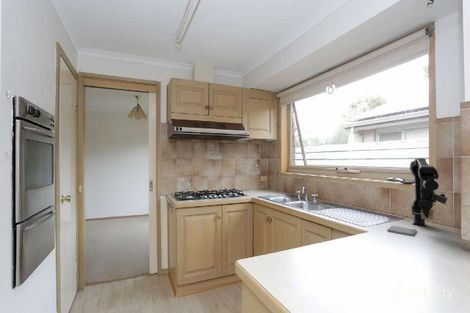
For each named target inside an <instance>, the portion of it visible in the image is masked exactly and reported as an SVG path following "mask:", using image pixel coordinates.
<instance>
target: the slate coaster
mask: <svg viewBox="0 0 470 313" xmlns="http://www.w3.org/2000/svg"><path fill="white" fill-rule="evenodd" d="M417 231H418V229H416V228H409V227H404V226H397V225H391V226H390V227H388V229H387V232H389V233H395V234H400V235H406V236H412V237H414V236H415V235H416V233H417Z"/></svg>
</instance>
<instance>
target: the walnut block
mask: <svg viewBox="0 0 470 313" xmlns="http://www.w3.org/2000/svg"><path fill="white" fill-rule="evenodd" d="M434 211H435V209H432V208H431V209H430V212H429V216H428V218H426V217H425V215H424V213H423V211H422V209H421V219H425V220H426V221H427V220H428V221H433V220H434V219H435V218H434V216H435V215H434V213H435V212H434Z"/></svg>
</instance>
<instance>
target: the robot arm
mask: <svg viewBox="0 0 470 313" xmlns="http://www.w3.org/2000/svg"><path fill="white" fill-rule="evenodd" d="M409 170H410V173H411V175H412V176H413V177H414V180H413V181H414V200H413V201H412V205H411V206H410V214H411V215H412V216H413V223H412V225H415V226H420V227H426V226H427V223H426V219H421V209H422V211H423V213H424V215H425V217H426V218H428V216H429V212H430V209H431V210H432V208H434V207H435V204H436V203H437V202H439V203H441V204H442V205H446V203H447V202H448V199H449V198H448V197H447V196H446V194H444V193H441V194H438V193H436V191H437V190H438V189H439V186H440V185H439V183H438V182H437V181H436V180H438V179H439V177H440V175H439V172H438V170H437V168H435V166H434V165H429V164H428V162H427V159H426V158H421V157H419V158H414V160H413V161H411V162H410V164H409Z"/></svg>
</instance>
